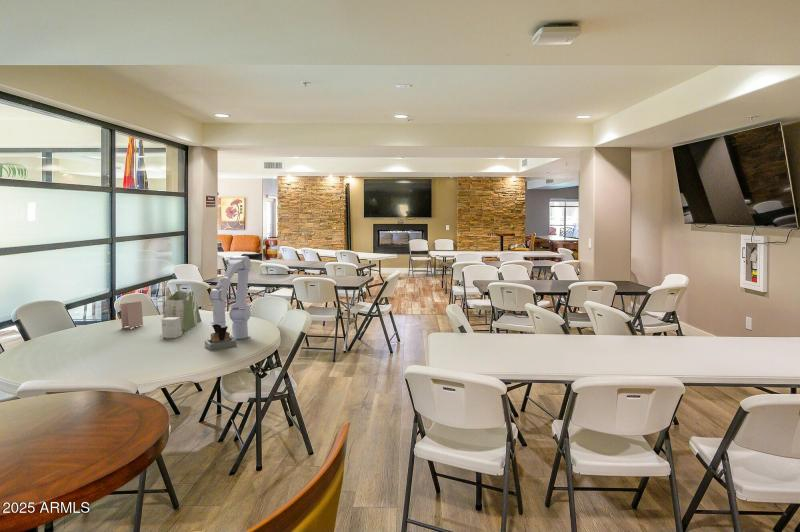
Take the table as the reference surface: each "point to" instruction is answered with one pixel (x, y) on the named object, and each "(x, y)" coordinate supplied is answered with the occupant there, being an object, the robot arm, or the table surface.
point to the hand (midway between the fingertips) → (220, 339)
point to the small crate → (216, 337)
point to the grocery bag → (183, 309)
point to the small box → (171, 327)
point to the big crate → (220, 344)
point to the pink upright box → (131, 314)
